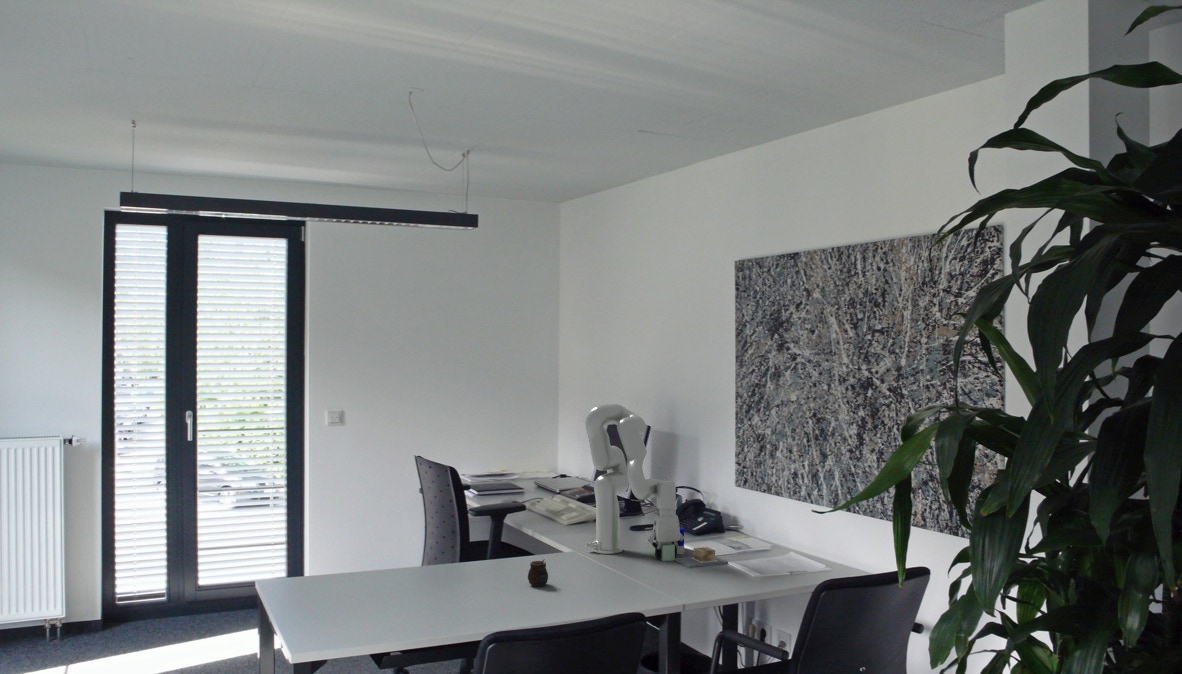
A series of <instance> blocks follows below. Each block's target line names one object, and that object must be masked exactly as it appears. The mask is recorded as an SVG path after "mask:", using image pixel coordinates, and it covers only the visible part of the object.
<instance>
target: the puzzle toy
mask: <svg viewBox="0 0 1182 674" xmlns="http://www.w3.org/2000/svg"><path fill="white" fill-rule="evenodd" d="M679 527H680V533H681V534H682V535H683V536H684V537H685V528H684V526H683V524H679ZM664 543H666V542H664ZM669 543H672V542H669ZM684 554H685V538H684V539H683V540H682V541H681V543H680V544H679V545H678V548H677V555H684Z"/></svg>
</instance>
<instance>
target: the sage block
mask: <svg viewBox="0 0 1182 674" xmlns="http://www.w3.org/2000/svg"><path fill="white" fill-rule="evenodd" d="M660 549H661V559H659V560H660V561H662V562H668V561H675V545H674V544H672V543H669V542H666V543H661V546H660Z"/></svg>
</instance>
